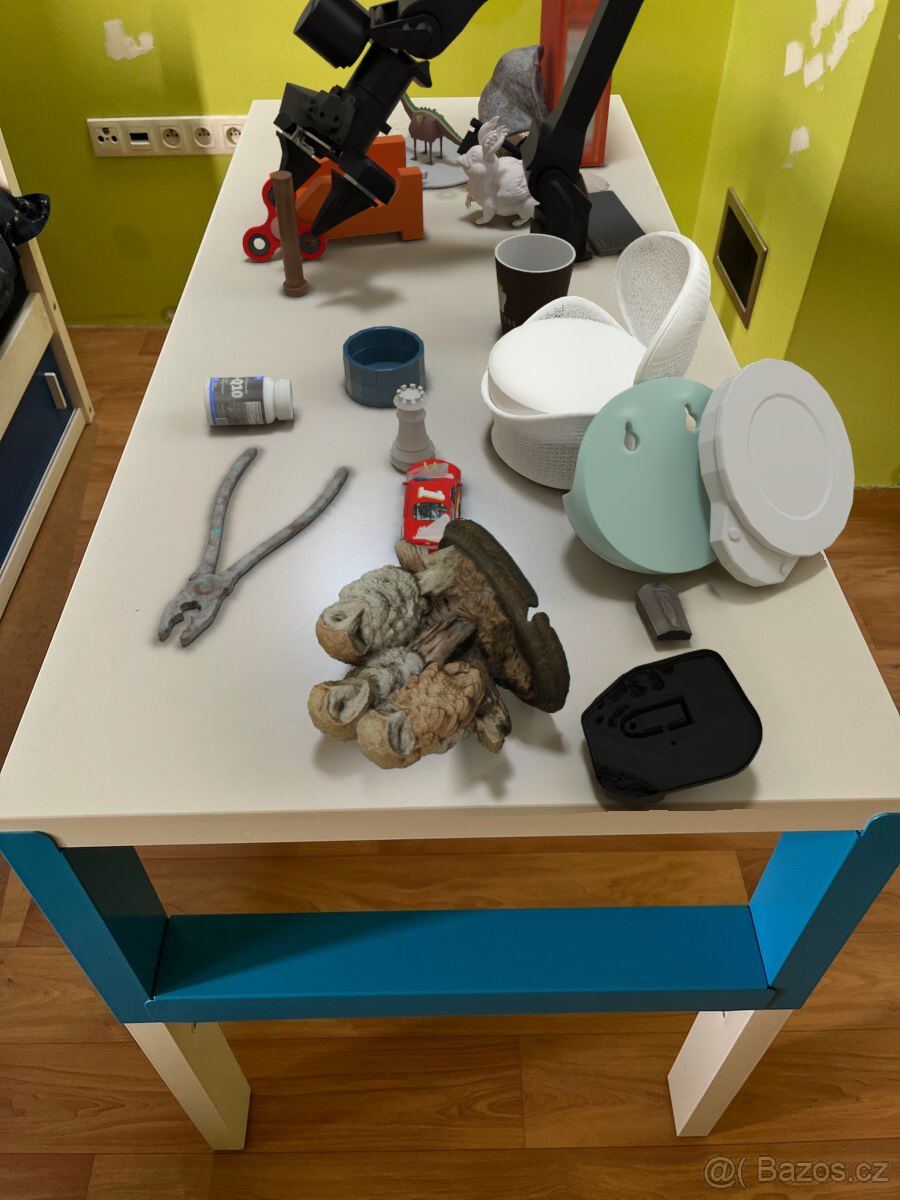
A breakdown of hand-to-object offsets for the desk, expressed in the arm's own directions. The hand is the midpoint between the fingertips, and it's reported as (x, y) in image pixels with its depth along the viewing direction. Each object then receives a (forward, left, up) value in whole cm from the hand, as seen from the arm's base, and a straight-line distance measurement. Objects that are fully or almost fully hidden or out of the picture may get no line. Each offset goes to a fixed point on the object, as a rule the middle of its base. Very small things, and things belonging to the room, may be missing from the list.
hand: (293, 219), depth 114 cm
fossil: (-38, -24, +1) cm, 45 cm away
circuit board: (-42, -27, -7) cm, 50 cm away
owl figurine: (+6, +64, -3) cm, 64 cm away
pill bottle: (+18, +21, -6) cm, 29 cm away
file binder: (-51, -22, -9) cm, 57 cm away
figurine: (-32, -5, -9) cm, 33 cm away
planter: (-12, +60, -9) cm, 62 cm away
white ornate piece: (-30, -15, -11) cm, 35 cm away
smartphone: (-43, -4, -8) cm, 44 cm away
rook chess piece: (+2, +36, -9) cm, 38 cm away
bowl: (-1, +23, -9) cm, 25 cm away
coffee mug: (-20, +21, -9) cm, 30 cm away
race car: (+4, +45, -9) cm, 46 cm away
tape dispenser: (-11, -13, -9) cm, 19 cm away
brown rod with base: (+1, 0, -9) cm, 9 cm away
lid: (-21, +59, -3) cm, 62 cm away
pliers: (+12, +31, -8) cm, 34 cm away
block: (-7, +65, -9) cm, 66 cm away
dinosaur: (-30, -26, -9) cm, 40 cm away
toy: (-1, -9, -4) cm, 10 cm away
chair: (-14, +41, -9) cm, 44 cm away
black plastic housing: (+1, +76, -4) cm, 76 cm away
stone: (-43, -11, -6) cm, 45 cm away
